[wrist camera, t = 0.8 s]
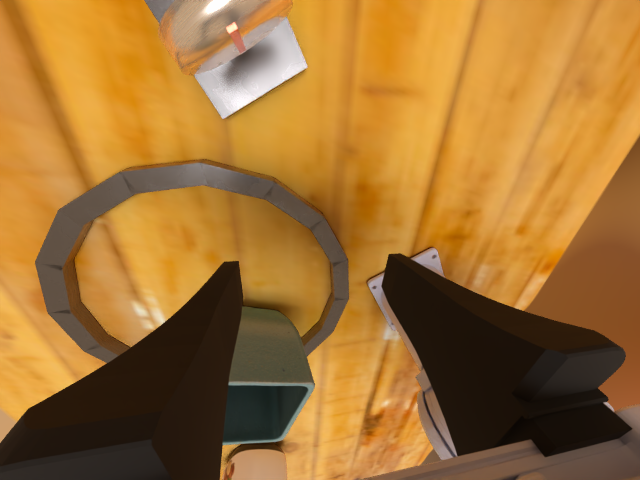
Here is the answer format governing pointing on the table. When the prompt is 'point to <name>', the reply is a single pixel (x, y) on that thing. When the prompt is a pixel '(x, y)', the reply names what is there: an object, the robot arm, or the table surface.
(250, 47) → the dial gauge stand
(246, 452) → the spread jar
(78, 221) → the centring ring
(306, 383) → the flower pot
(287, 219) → the table surface
